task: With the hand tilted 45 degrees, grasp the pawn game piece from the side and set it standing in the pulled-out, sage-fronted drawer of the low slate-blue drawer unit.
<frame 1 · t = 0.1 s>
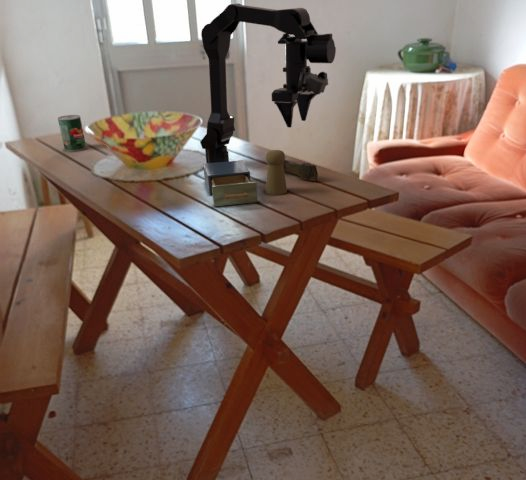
hand: (296, 123, 159), 15 cm above the table, tool pointing down, fingers open, 9 cm apart
cabinet: (227, 187, 160), on the table
canned tomato: (75, 149, 206), on the table
pawn game piece: (276, 192, 155), on the table
drawer: (232, 189, 149), point 3 cm above the table, slide at 9.0 cm
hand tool: (296, 176, 167), on the table
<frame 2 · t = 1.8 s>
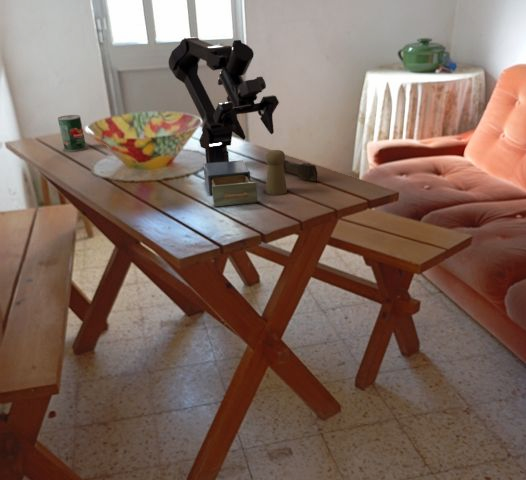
hand: (258, 135, 154), 13 cm above the table, tool tilted 45°, fingers open, 9 cm apart
nothing on the table moved.
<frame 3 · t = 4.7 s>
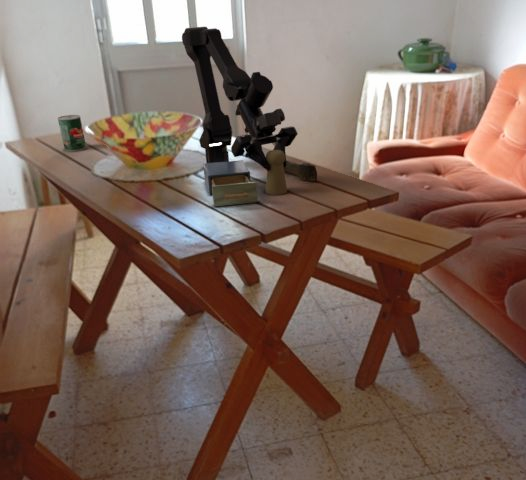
hand: (277, 168, 151), 7 cm above the table, tool tilted 45°, fingers closed on pawn game piece, 5 cm apart
pawn game piece: (276, 192, 155), on the table, touching gripper
everything else where it was.
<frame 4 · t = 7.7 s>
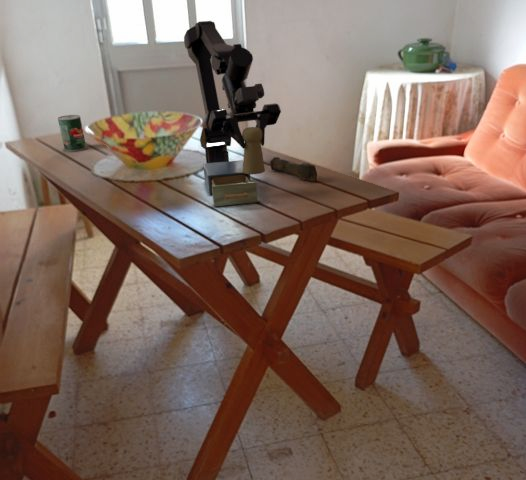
hand: (253, 146, 145), 13 cm above the table, tool tilted 45°, fingers closed on pawn game piece, 5 cm apart
pawn game piece: (253, 171, 149), point 6 cm above the table, touching gripper
everything else where it was.
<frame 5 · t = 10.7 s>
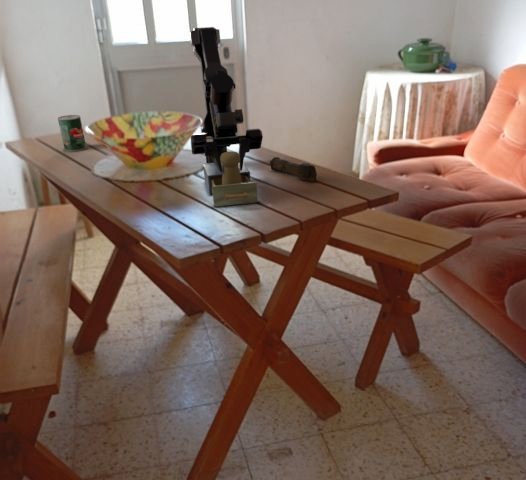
hand: (231, 170, 147), 8 cm above the table, tool tilted 45°, fingers closed on pawn game piece, 5 cm apart
pawn game piece: (232, 194, 151), point 1 cm above the table, touching drawer, gripper
drawer: (232, 189, 149), point 3 cm above the table, slide at 9.2 cm, touching pawn game piece
everything else where it was.
when the fingers open (8 cm above the table, at t = 10.7 s): pawn game piece stays where it is, resting on drawer.
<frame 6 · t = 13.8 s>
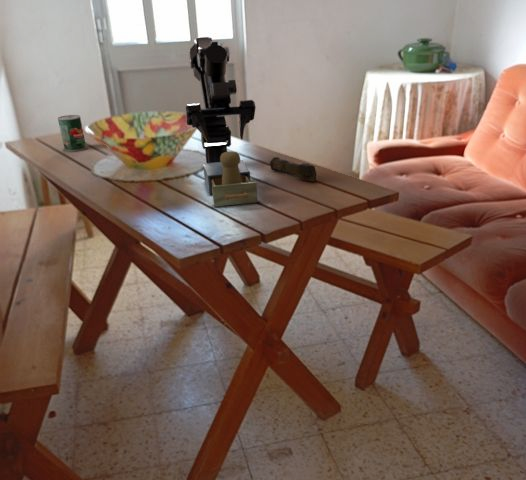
hand: (225, 140, 151), 14 cm above the table, tool tilted 45°, fingers open, 9 cm apart
pawn game piece: (232, 194, 151), point 1 cm above the table, touching drawer
everything else where it was.
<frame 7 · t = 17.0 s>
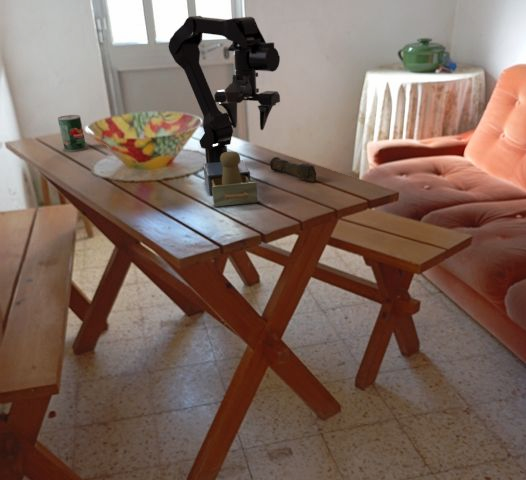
hand: (248, 128, 164), 13 cm above the table, tool pointing down, fingers open, 9 cm apart
nothing on the table moved.
at the end: pawn game piece 0.1 cm from the target spot on the table beside the cabinet, point 1.0 cm above the table; pawn game piece tilted 0°; the gripper is holding nothing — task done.
